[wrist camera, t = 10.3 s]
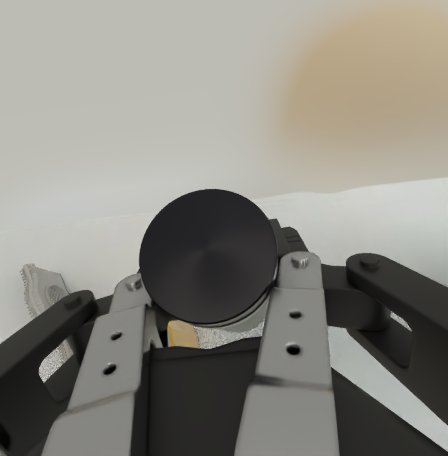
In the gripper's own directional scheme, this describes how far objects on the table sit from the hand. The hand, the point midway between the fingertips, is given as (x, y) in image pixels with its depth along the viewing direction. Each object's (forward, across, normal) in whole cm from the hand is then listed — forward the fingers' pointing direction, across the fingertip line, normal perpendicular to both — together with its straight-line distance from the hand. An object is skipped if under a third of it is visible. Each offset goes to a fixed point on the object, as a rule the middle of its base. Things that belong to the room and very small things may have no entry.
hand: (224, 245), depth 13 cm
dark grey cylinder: (+2, 0, +4) cm, 4 cm away
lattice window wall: (+15, +22, +14) cm, 30 cm away
